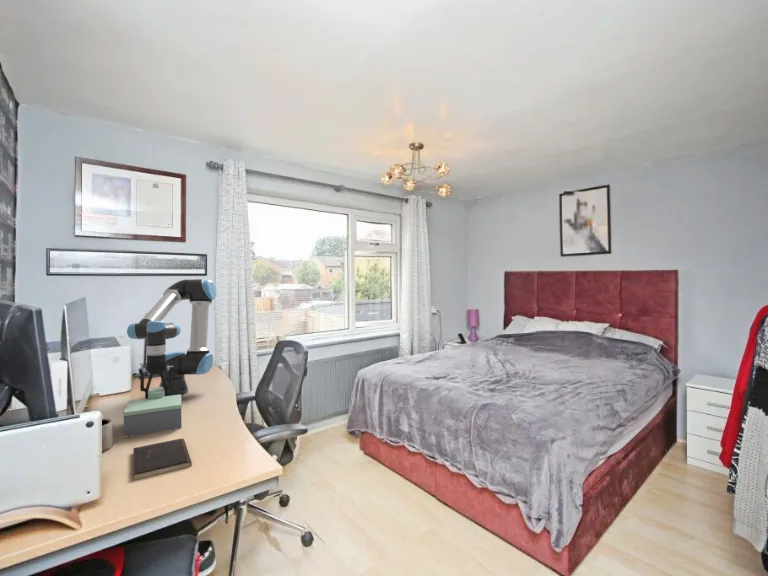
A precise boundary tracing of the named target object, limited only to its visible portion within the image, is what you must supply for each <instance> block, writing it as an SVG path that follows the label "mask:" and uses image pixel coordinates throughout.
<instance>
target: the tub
mask: <svg viewBox="0 0 768 576" xmlns="http://www.w3.org/2000/svg"><path fill="white" fill-rule="evenodd" d="M175 428H177V429H181V428H182V407H181V408H179V409H172V410H165V411H158V412H151V413H144V414H137V415H130V416H124V415H123V437H124V438H126V437H125V436H128V437H132V436H131V435H134V436H139V435H138V434H140V435H145V434H144V433H146V434H151V433H157V432H164V430H165V431H169V430H170V429H171V430H176V429H175ZM171 430H170V431H171Z"/></svg>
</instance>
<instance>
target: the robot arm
mask: <svg viewBox="0 0 768 576" xmlns="http://www.w3.org/2000/svg"><path fill="white" fill-rule="evenodd" d="M216 297H217V287H216V285H215V283H214V282H213V280H211V279H205V278H203V279H202V278H201V279H182V280H178V281H176V282H175V283H173V284H171V285H170V286H168V288H166V289H165V290H164V292H163V296H162V297H161V298H160V299H159V300H158V301H157V302H156V303H155V305H154V306H153V307H151V309H150V310H149V311H148V312H147V313H146V314H145V315H144V316H143V318H142V319H141V320H140V321H139V322H138V323H131V324H129V325H128V327H127V329H126V333H127V337H128V338H130V339H131V340H133V339H134V340H146V366H145V367H144V368H140V369H139V370H138V372H139V376H140V381H139V382H140V387H139V388H140V389H139V390H140V392H144V396H145V397H144V399H148V398H149V392H150V390H149V389H150V386H151V383H152V379H153V376H155V375H159V376H160V384H159V386H158V387H163V397H164V396H172V395H180V394H182V395H185V394H187V393H188V392H189V386H188V384H187V381H186V377H185V375H187V376H188V375H189V376H190V375H197V376H199V375H206V374H208V373H209V372H210V371H211V370H212V367H213V364H214V355H213V354H212V353H210V349H209V348H208V327H209V312H210V311H209V307H210V305H211V304H212V302H213V300H215V299H216ZM184 300H188V301H189V303H190V304H191V307H192V308H191V323H190V339H189V340H190V341H189V348H188V349H186V352H185V351H184V350H178V351H172V352H167V353H166V351H167V341H166V340H169V339H173V338H176V337H178V336H179V335H180V333H181V329H182V328H181V326H180V325H179V324H178V323H177V322H168V323H167V322H166V321H165V320H164V319H165V318H166V316H167V315H168V314H169V313H170V311H171V310H172V309H173V308H174V307H175V305H177V304H180V302H181V301H184ZM146 371H147V372H148V373H149V375H148V379H147V382H146V385H145V373H146ZM145 386H146V387H145ZM184 393H185V394H184Z"/></svg>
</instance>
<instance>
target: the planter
mask: <svg viewBox="0 0 768 576" xmlns="http://www.w3.org/2000/svg"><path fill="white" fill-rule="evenodd" d="M101 419H102V451H103V452H106V451H108V450H109V449H110V448H111V447H112V446H113V421H112V419H110V418H101ZM107 449H108V450H107ZM105 450H106V451H105ZM103 452H102V453H103Z"/></svg>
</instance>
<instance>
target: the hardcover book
mask: <svg viewBox="0 0 768 576" xmlns="http://www.w3.org/2000/svg"><path fill="white" fill-rule="evenodd" d="M187 447H188V446H187V443H186V441H185V439H184V437H182V438H177V439H176V438H175V439H172V440H166V441H162V442H157V443H153V444H148V445H142V446H138V447H134V448H133V449H132V450H133V451H132V452H133V454H132V455H133V457H132V458H133V460H132V462H133V463H132V476H133V477H134V480H138V479H142V478H147V477H149V476H154V475H159V474H163V473H167V472H171V471H175V470H176V471H177V470H179V469H184V468H187V467H192V465H193V463H192V459H191V456H190V453H189V450H188V448H187Z"/></svg>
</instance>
